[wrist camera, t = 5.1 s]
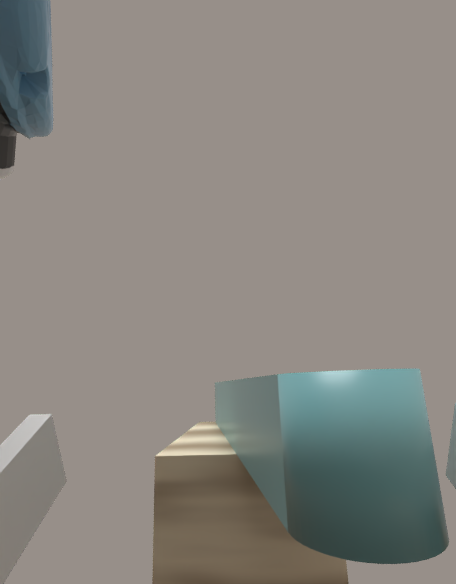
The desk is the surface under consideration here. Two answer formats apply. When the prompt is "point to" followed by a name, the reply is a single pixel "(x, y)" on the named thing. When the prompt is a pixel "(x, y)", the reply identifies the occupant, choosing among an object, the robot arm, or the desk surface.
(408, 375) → the teal rounded-top bar
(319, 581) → the stand
